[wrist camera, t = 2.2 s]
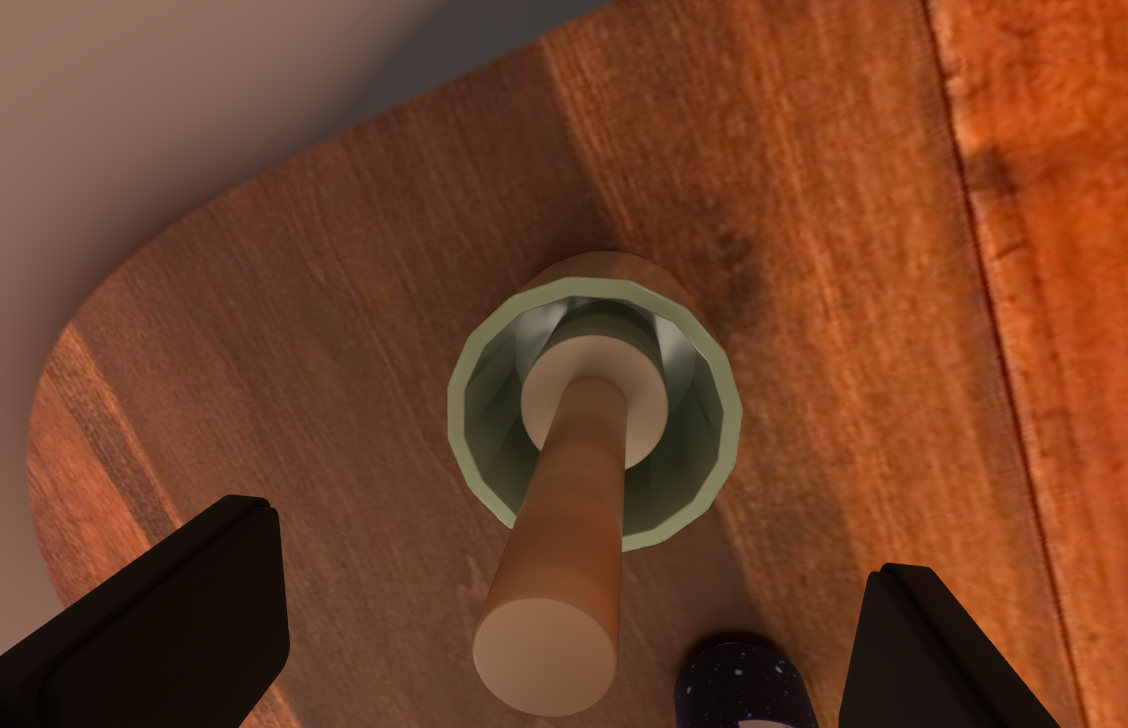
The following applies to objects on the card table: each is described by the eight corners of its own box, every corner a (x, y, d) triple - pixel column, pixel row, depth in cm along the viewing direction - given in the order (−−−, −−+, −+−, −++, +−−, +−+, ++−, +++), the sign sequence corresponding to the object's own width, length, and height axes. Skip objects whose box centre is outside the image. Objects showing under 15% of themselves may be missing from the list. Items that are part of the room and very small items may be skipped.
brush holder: (508, 245, 23) (445, 268, 16) (717, 256, 22) (760, 288, 15) (504, 436, 25) (447, 539, 18) (695, 453, 25) (721, 568, 17)
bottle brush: (550, 296, 23) (380, 495, 8) (665, 304, 23) (729, 530, 7) (545, 404, 24) (391, 762, 9) (655, 413, 24) (691, 806, 8)
